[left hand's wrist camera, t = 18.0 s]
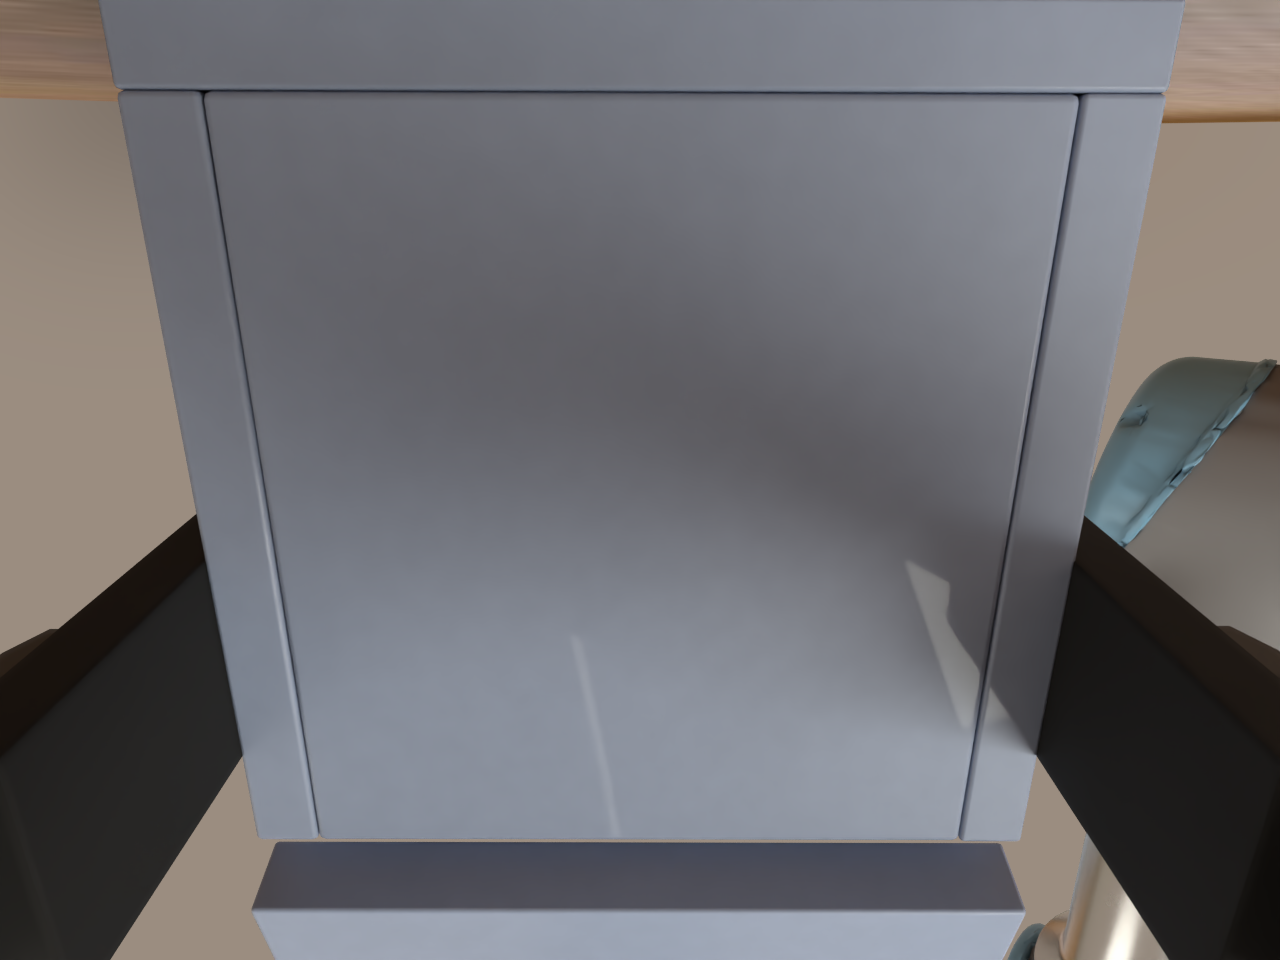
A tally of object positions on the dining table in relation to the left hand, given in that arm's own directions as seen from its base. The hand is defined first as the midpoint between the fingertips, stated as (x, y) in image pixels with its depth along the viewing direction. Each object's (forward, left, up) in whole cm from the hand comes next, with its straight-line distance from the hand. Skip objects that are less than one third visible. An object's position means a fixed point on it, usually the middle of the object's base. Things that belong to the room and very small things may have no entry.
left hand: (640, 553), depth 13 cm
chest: (+3, -2, -7) cm, 8 cm away
